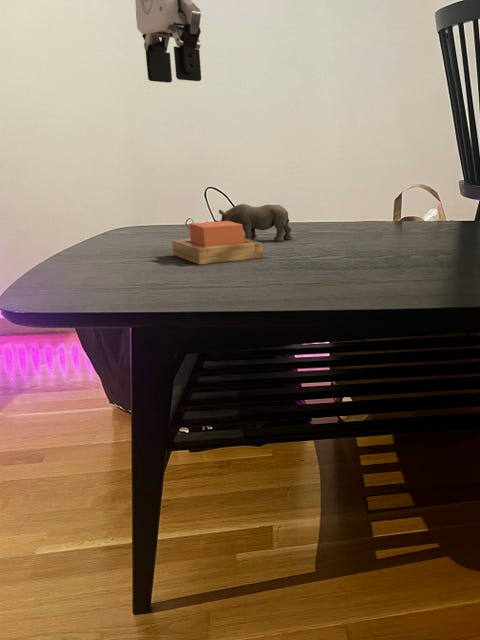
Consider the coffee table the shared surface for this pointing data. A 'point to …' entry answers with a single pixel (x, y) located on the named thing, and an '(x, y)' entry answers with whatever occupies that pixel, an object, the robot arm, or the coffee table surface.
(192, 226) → the block
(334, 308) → the coffee table surface
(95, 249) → the coffee table surface
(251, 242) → the shallow wooden tray
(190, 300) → the coffee table surface
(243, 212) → the rhino figurine
